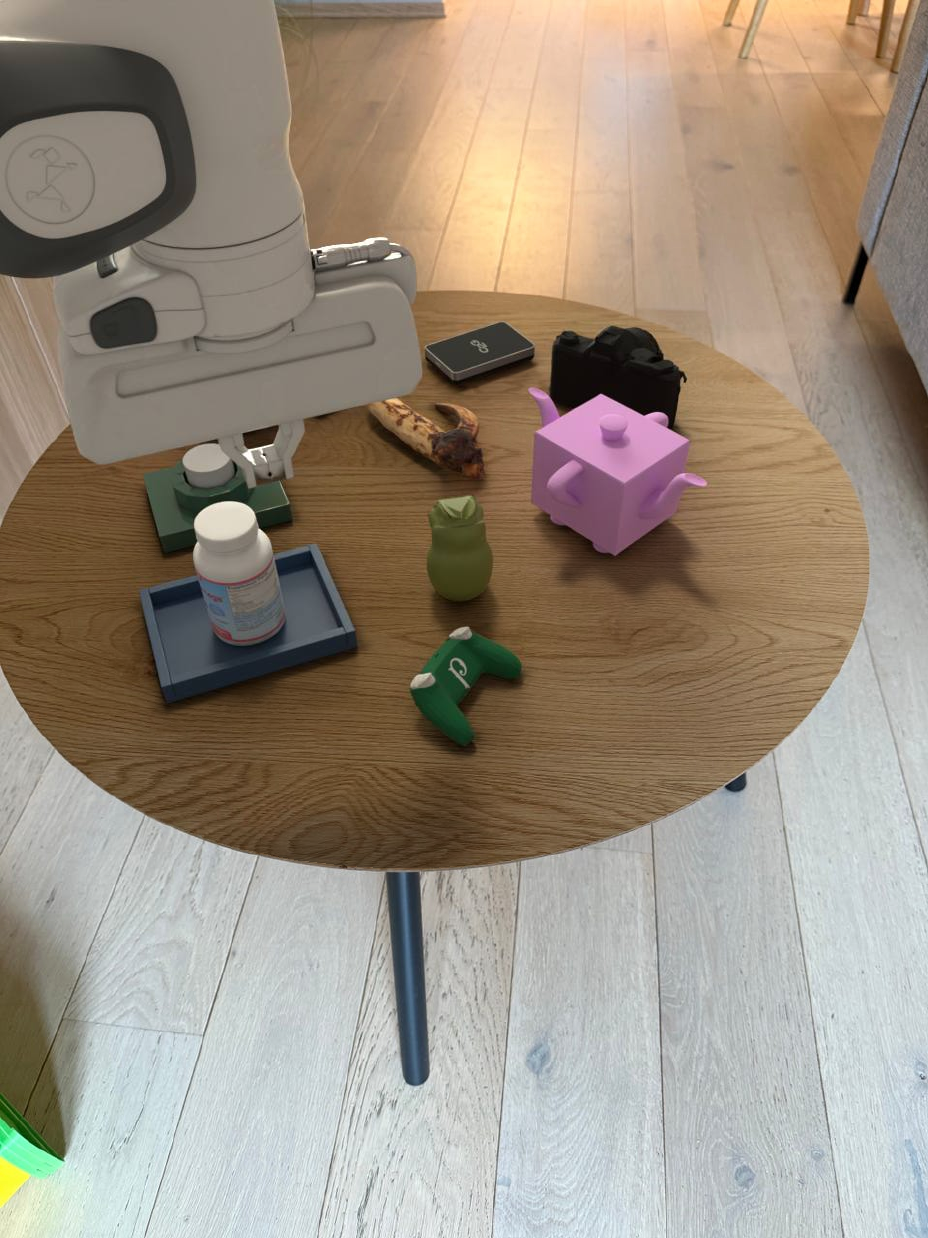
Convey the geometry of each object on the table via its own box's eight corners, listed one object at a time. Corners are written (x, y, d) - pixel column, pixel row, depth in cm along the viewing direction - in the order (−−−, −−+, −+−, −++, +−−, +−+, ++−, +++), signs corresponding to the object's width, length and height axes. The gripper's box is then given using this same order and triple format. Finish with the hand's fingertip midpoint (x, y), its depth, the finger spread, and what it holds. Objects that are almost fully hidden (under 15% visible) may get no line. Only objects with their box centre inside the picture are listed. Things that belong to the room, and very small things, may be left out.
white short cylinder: (192, 494, 86) (187, 476, 85) (183, 467, 89) (178, 449, 88) (239, 482, 87) (235, 464, 86) (229, 456, 90) (225, 438, 89)
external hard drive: (536, 361, 108) (537, 346, 107) (453, 390, 104) (453, 374, 103) (503, 335, 112) (503, 320, 111) (422, 362, 108) (421, 346, 107)
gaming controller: (500, 675, 78) (455, 621, 76) (530, 666, 75) (484, 609, 73) (441, 754, 72) (391, 698, 71) (471, 747, 69) (419, 688, 68)
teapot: (516, 561, 85) (520, 462, 77) (524, 470, 94) (529, 374, 86) (688, 572, 84) (710, 473, 76) (680, 479, 93) (698, 382, 85)
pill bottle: (205, 610, 80) (174, 507, 72) (274, 589, 82) (252, 486, 74) (223, 658, 76) (193, 556, 68) (296, 635, 78) (275, 532, 70)
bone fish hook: (526, 463, 95) (413, 387, 105) (529, 424, 92) (413, 349, 101) (456, 500, 91) (345, 417, 100) (457, 460, 88) (342, 378, 97)
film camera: (702, 399, 102) (717, 323, 96) (663, 444, 97) (676, 366, 90) (579, 359, 108) (585, 285, 102) (535, 399, 103) (539, 323, 96)
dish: (167, 703, 74) (161, 687, 72) (144, 606, 81) (138, 589, 80) (357, 647, 78) (355, 630, 76) (319, 559, 85) (316, 542, 84)
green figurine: (433, 617, 80) (429, 527, 73) (423, 575, 84) (418, 485, 76) (498, 608, 81) (499, 518, 73) (485, 566, 84) (485, 476, 77)
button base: (164, 553, 86) (153, 519, 83) (147, 490, 92) (136, 456, 90) (292, 520, 89) (286, 486, 86) (267, 461, 96) (260, 428, 93)
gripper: (395, 209, 54) (407, 414, 64) (21, 275, 49) (98, 487, 59) (434, 255, 50) (441, 467, 60) (30, 332, 45) (112, 550, 55)
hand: (268, 478), depth 59 cm, fingers closed
